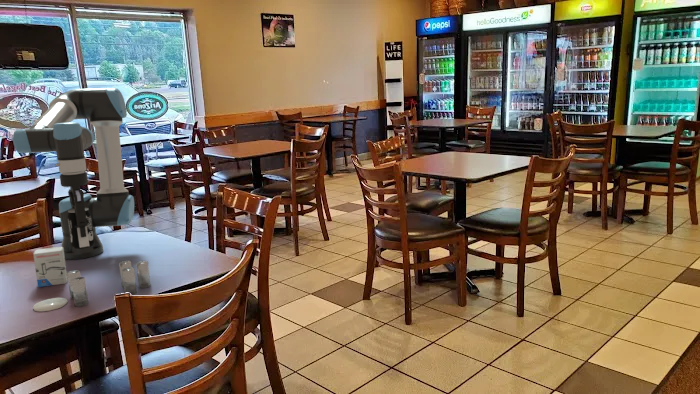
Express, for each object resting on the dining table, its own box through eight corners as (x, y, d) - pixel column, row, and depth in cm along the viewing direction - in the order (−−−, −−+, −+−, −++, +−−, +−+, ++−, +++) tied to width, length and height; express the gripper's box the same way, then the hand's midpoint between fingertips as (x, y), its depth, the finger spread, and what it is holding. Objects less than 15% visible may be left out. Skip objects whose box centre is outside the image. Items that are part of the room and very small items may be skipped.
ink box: (37, 287, 170) (32, 253, 168) (39, 282, 175) (34, 249, 172) (66, 283, 174) (61, 250, 171) (68, 278, 178) (63, 245, 176)
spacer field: (70, 295, 163) (66, 271, 161) (146, 279, 175) (144, 257, 173) (73, 308, 153) (70, 282, 152) (154, 290, 165) (151, 266, 164)
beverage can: (85, 249, 161) (80, 212, 159) (67, 248, 163) (61, 211, 160) (99, 243, 167) (94, 207, 165) (81, 242, 169) (76, 207, 166)
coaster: (32, 304, 157) (32, 302, 157) (65, 296, 162) (65, 295, 162) (33, 314, 150) (33, 312, 150) (68, 306, 155) (68, 305, 154)
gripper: (56, 170, 166) (66, 239, 171) (62, 177, 150) (73, 253, 155) (82, 168, 170) (91, 235, 175) (91, 174, 154) (100, 248, 159)
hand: (82, 243), depth 165 cm, fingers closed on beverage can, 6 cm apart
